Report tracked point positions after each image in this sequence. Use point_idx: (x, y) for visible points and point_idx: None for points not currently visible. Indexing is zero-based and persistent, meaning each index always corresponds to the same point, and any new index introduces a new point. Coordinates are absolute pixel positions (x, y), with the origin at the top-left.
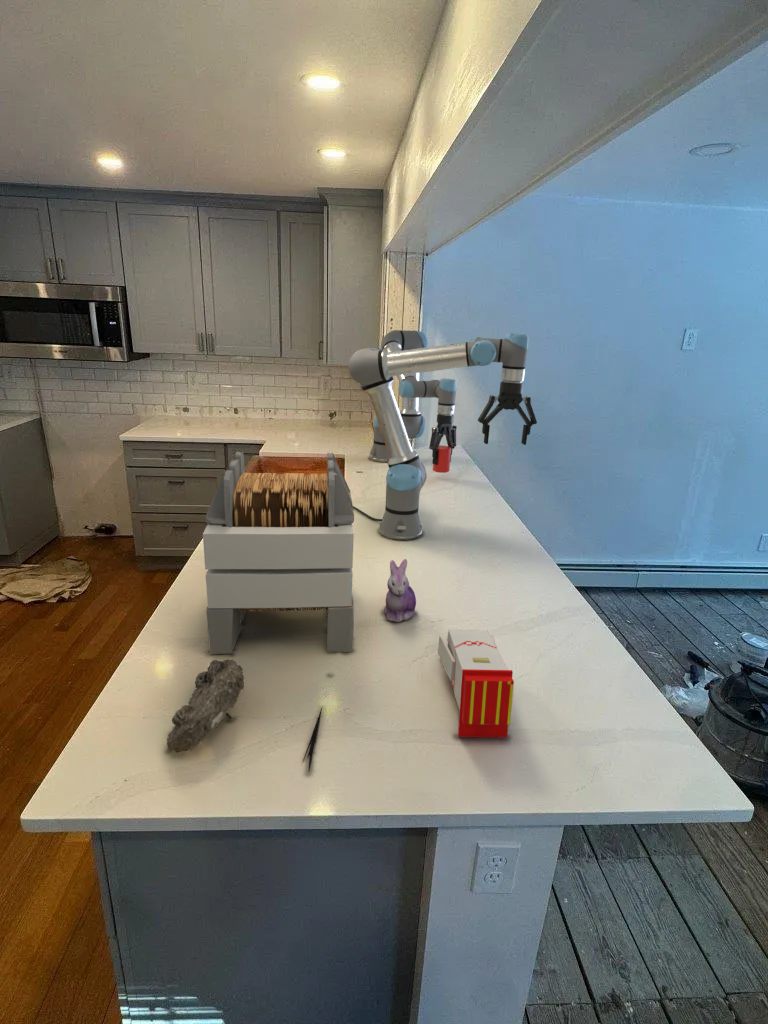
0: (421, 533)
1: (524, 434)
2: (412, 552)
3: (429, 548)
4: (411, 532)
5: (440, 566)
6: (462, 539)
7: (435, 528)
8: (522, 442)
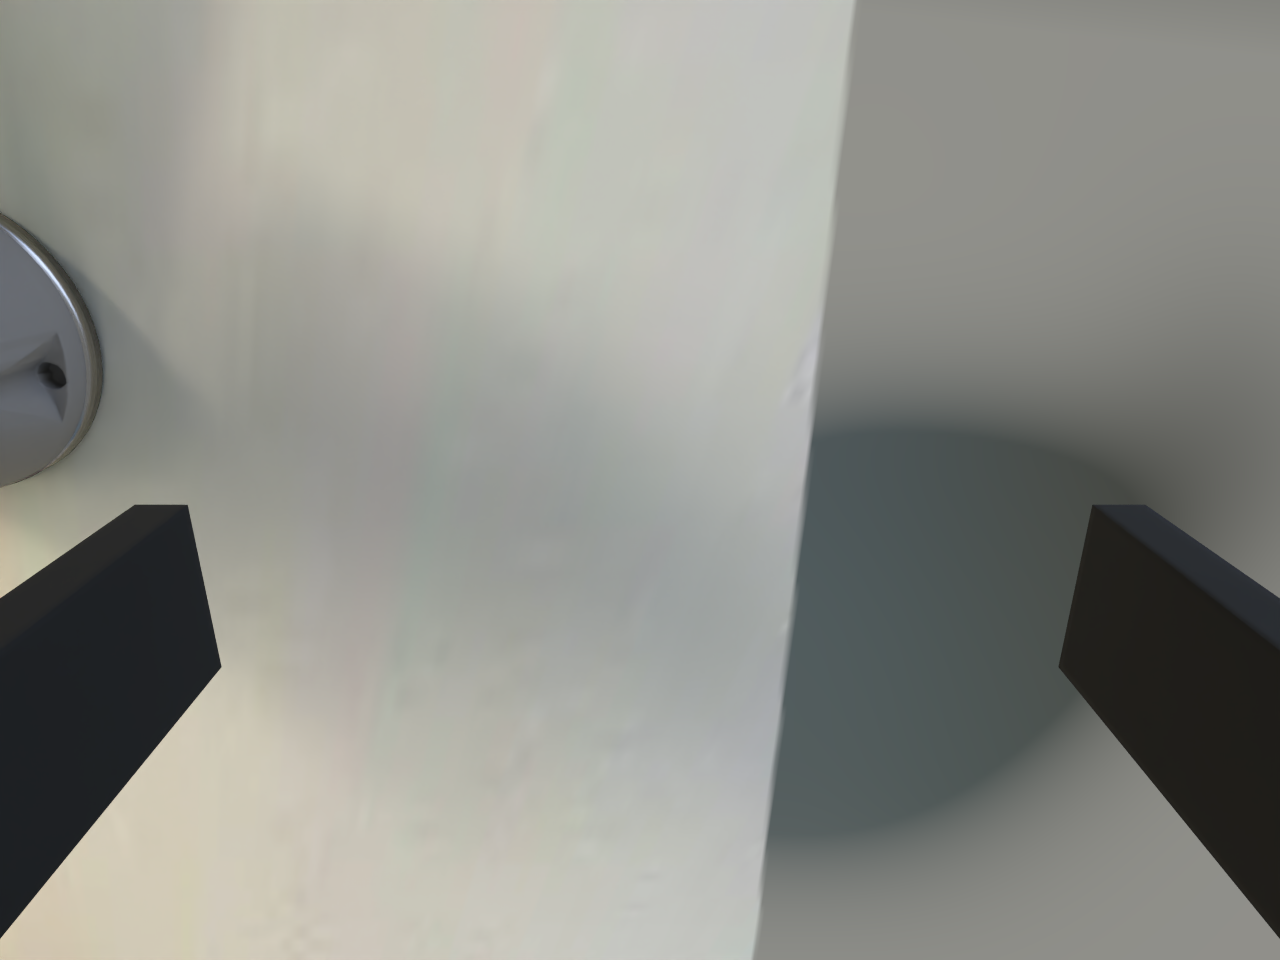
0: (94, 401)
1: (1213, 789)
2: None
3: None
4: (6, 483)
5: (222, 779)
6: (375, 458)
7: (200, 262)
8: (1094, 586)
